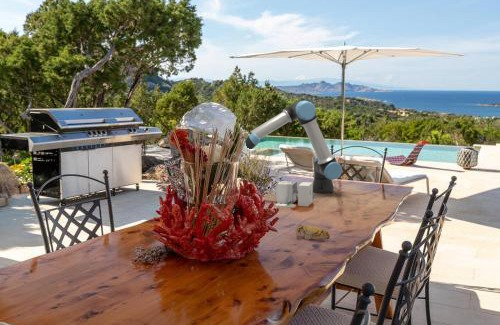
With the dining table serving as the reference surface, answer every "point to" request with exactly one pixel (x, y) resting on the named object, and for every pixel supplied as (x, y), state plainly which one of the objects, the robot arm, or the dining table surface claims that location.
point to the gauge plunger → (292, 192)
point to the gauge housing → (302, 195)
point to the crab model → (312, 232)
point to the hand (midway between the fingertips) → (274, 193)
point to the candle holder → (282, 192)
